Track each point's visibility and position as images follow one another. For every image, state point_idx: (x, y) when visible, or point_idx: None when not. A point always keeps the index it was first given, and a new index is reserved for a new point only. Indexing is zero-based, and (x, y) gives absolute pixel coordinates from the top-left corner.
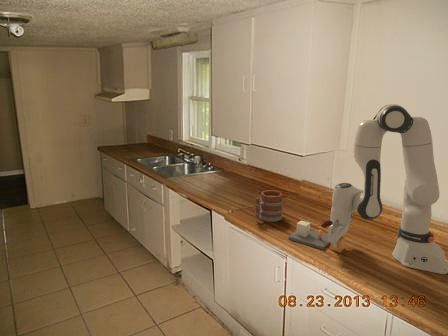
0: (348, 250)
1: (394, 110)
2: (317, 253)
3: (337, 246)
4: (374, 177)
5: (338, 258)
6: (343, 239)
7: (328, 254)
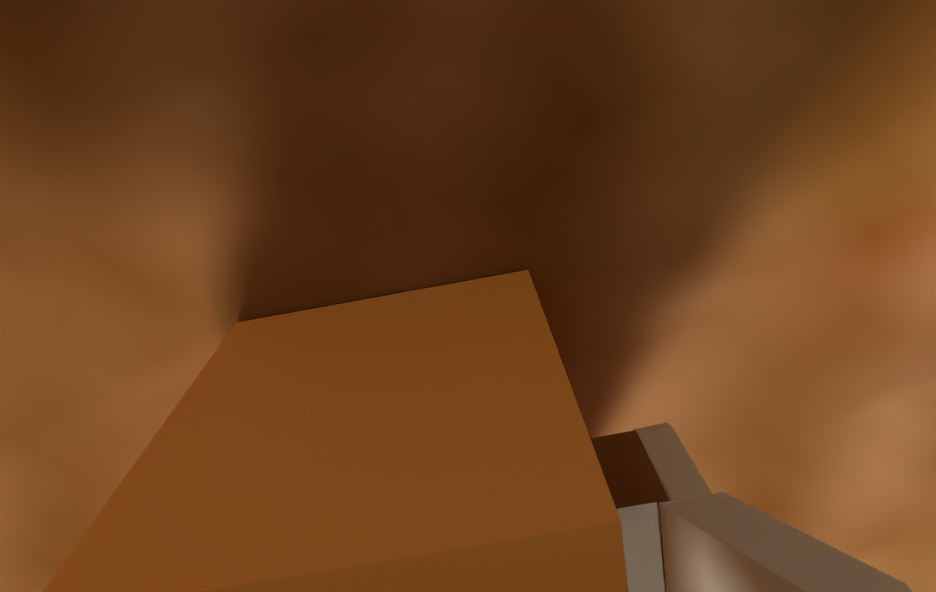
0: (222, 185)
1: None
2: (932, 564)
3: None
4: None
5: (891, 137)
6: (325, 545)
7: (831, 407)
